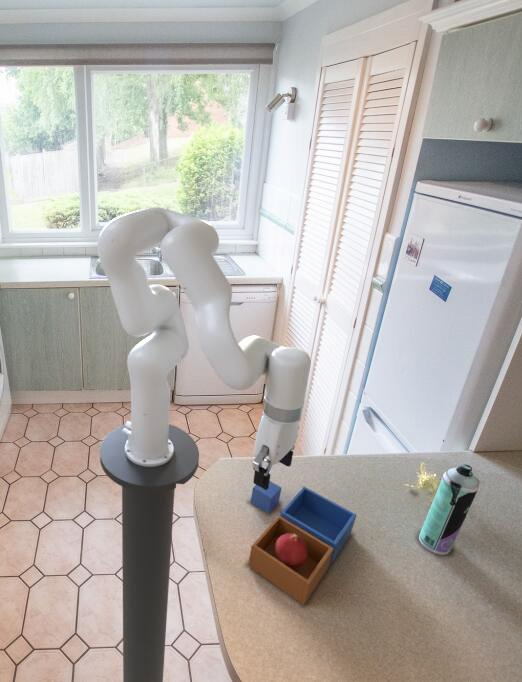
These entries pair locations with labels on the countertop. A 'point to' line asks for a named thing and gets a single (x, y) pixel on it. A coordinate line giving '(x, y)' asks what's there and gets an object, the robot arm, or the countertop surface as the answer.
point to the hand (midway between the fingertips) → (272, 474)
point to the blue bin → (320, 518)
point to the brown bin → (287, 578)
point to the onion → (291, 550)
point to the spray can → (449, 509)
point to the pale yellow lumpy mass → (427, 481)
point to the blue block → (266, 497)
